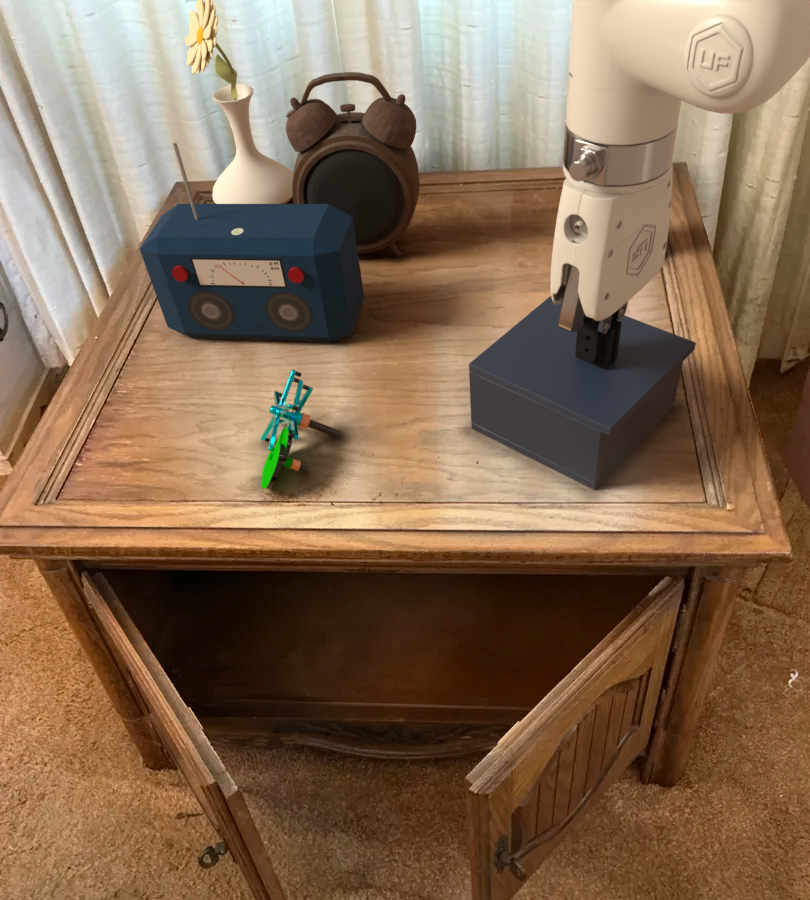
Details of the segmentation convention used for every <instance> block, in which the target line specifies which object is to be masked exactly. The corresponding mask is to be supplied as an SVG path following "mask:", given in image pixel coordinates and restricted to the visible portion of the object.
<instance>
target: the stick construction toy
mask: <svg viewBox="0 0 810 900" xmlns="http://www.w3.org/2000/svg"><path fill="white" fill-rule="evenodd" d="M297 377H298V378H297ZM301 377H302V372H301V371H300V372H299V371H297V370H295V369H291V371H290V373H289V376H288V378H287V381H286V383H285V386H284V389H283V391H282V392H279V391H277V390H275V391H274V393H273V400H274V402H273V403H274V404H272V405H270V406H269V409H268V412H269V413H268V414H271V415H272V416H271V418H270V419H269V422H268V424H267V425H266V427H265V429H264V431H263V433H262V435H261V436H260V441H263V442H266V443H268V447H267V450H268V451H269V452H268V455H267V457H266V460H265V462H264V466H263V469H262V473H261V482H260V483H261V484H260V485H261V488H262V489H263V490H266V491H270V490H271V489H272V487H273V486H274V484H275V481H276V479H277V477H278V475H279V472H280V469H281V468H283V467H285V468H287V469H291V470H293V471H296V472H297V471H302V472H304V473H307V472H308V471H309V468H310V467H309V465H308V464H305V463H302V461H301V460H298V459H295V458H292V457H290V456H289V455H290V452H291V448H292V444H293V440H296V441H298V440H299V437H300V436H299V435H300V434H299V429H302V430H307V428H309V429H312V430H315V431H316V432H320V433H323V434H326V435H328V436H331V437H334V438H336V439H338V438H339V437H340V435H341V430H340V429H338V428H335V427H332V426H330V425H327V424H324V423H322V422H319V421H317V420H314V419H311V415H310V414H307V413H305V412H301V411H302V409H303V407H304V406H305V404H306V402H308V399H309V398H310V396H311V394H312V393H313V390H314V388H313V387H311V386H309V385H306V384H304V381H303V380H302V379H299V378H301ZM293 383H296V384H297V386H296V391H295V395H294V399H293V403H292V404H291V403H287V404H286V401H287V398H288V395H289V394H290V390H291V387H292V384H293ZM302 390H304V391H305V392H304V393H303V395H302ZM301 395H302V397H301ZM290 410H291V411H290ZM279 424H280V425H286V424H287V425H286V426H285V427H283V428H282V430H281V431H280V433H279V436H278V438H277V433H278V429H279ZM269 434H270V437H268V436H269ZM276 438H277V439H276ZM275 442H276V443H275Z"/></svg>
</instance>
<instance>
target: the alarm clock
mask: <svg viewBox="0 0 810 900" xmlns="http://www.w3.org/2000/svg"><path fill="white" fill-rule="evenodd" d="M343 81H344V82H347V81H353V82H354V81H357V82H361V83H362V82H363V83H367V84H371V85H373V87H375V89H376V90H377V91H378V93H379V94H380V95H381V96H382V97H379V98H376V99H375V100H373V102H371V104H369V106H368V107H367V108H366V110H365V112H361V111H360V112H359V111H357V112H356V104H354V103H344V104H341V105H340V106H339V110H340V112H341V113H338V114H337V112H336V111H335V110H334V109H333V107H331V106H330V105H329V104H328V103H326V102H325V101H323V100H322V99H319V98H310V99H309V96H310V94H311V92H312V90H313V89H314V88H317V87H319V86H322V85H324V84H327V83H334V82H343ZM289 102H290V103H289V104H290V105H291V107H292V109H291V110H289V111H288V112H287V114H286V116H285V118H287V120H286V123H285V134H286V136H287V140H288V142H289V144H290V145H291V147H292V149H293V150H294V152H296V153H298V154H297V156H296V160H295V162H294V163H295V164H294V167H293V171H292V172H293V184H292V195H293V197H292V201H293V204H329V205H331V206H333V207H335V208H337V209H339V210H341V211H343V212H345V213H347V214H348V215H350V216H352V217H353V223H354V230H355V237H356V244H357V250H358V255H359V254H361V255H363V254H369V253H374V252H378V251H380V250H383V249H386V248H387V247H388V248H389V249H391V251H392V252H394V253H395V256H396V258H400V257H402V255H403V254H402V251H400V250H399V248H398V247H397V245H396V243H395V242H396V241H398V240H399V239H400V238H401V237H402V236H403V235H404V233H405V232H406V231H407V230H408V228H409V226H410V224H411V222H412V219H413V217H414V214H415V211H416V208H417V204H418V201H419V195H420V175H419V174H420V173H419V165H418V160H417V156H416V153H415V152H414V149H413V146H412V145H413V144H414V141H415V138H416V133H417V118H416V117H415V114H414V112H413V110H412V109H411V108H410V107H409V106H408V105H407V104H406V103H405V102H406V95H405V94H404V93H400V94H399V95H398V96H397V98H395V97H392V96H391V95H390V93H389V91H388V90H387V88H385V86H384V85H383V83H382V82H381V80H380V79H379V78H378V77H376V76H375V75H372V74H367V73H365V72H359V71H355V72H354V71H346V72H345V71H344V72H333V73H327V74H323V75H321V76H318V77H315V78H313V79H311V80H310V81H309V82H308V83H307V85H306V87H305V91H304V93H303V95H302V97H301V101H300V102H299V99H298V98H296V97H291V98H290V100H289Z"/></svg>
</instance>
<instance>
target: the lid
mask: <svg viewBox="0 0 810 900" xmlns="http://www.w3.org/2000/svg"><path fill="white" fill-rule="evenodd" d="M562 304H563V303H561V304H558V305H555V304H554V303H553V301H552V298H551V295H550V296H549V297H547V298H546V299H544V300H543V302H541V303H540V304H539V305H537V306H536V307H535V308H534V309H533V310H532V311H531V312H529V313H528V314H527V315H526V316H525V317H523V318H522V319H521V320H519V322H517V323H516V324H515V325H514V326H512V327H511V328H510V329H509V330H507V332H505V333H504V334H503V335H501V336H500V337H499V338H498V339H497V340H496V341H494V342H493V343H492V344H491V345H490V346H488V347H487V348H486V349H485V350H483V351H482V353H480V354H479V355H478V356H477V357H475V358H474V359H472V361H470V362H469V363H468V372H469V371H470V372H473V373H475V374H477V375H479V376H481V377H483V378H486V379H488V380H490V381H492V382H494V383H496V384H498V385H501V386H503V387H505V388H507V389H509V390H511V391H514V392H516V393H518V394H520V395H522V396H524V397H527V398H529V399H531V400H533V401H535V402H537V403H539V404H542V405H544V406H546V407H548V408H550V409H552V410H555V411H557V412H559V413H561V414H563V415H565V416H568V417H570V418H572V419H574V420H576V421H578V422H580V423H583V424H585V425H587V426H589V427H591V428H593V429H596V430H598V431H600V432H602V433H604V434H606V435H609V436H610V435H611V434H612V433H613V432H614V431H615V430H616V429H617V428H618V427H619V426H620V425H621V424H622V423H623V422H624V421H625V420H626V419H627V418H628V417H629V416H630V415H631V414H632V413H633V412H634V411H635V410H636V409H637V408H638V407H639V406H640V405H641V404H642V403H643V402H644V401H645V400H646V399H647V397H648V396H649V395H650V394H651V393H652V392H653V391H654V390H655V389H656V388H657V387H658V386H659V385H660V384H661V383H662V382H663V381H664V380H665V379H666V378H667V377H668V376H669V375H670V374H671V373H672V372H673V371H674V370H675V369H676V368H677V367H678V366H679V365H680V364H681V363H682V362H683V363H684V361H685V360H686V359H688V357H689V356H690V355H691V354H692V353H693V352H694V351H695V350H696V345H697V342H696V341H693V340H691V339H688V338H685V337H682V336H680V335H677V334H675V333H672V332H670V331H667V330H664V329H661V328H660V327H656V326H653V325H651V324H648V323H646V322H643V321H640V320H638V319H635V318H633V317H630V316H627V315H626V314H625V315H624V317H623V318H622V319H621V320H619V319H617V321H620V322H622V324H621V332H620V339H619V347H618V355H617V359H616V360H615V361H614V362H613V363H610V366H609V367H608V368H606V369H602V368H599V367H597V366H595V365H592V364H590V363H588V362H585V361H583V360H580V359H578V358H577V357H576V355H575V350H576V338H577V331H575V332H570V331H567V330H565V329H562V328H560V327H559V325H558V324H559V319H560V314H561V309H562Z"/></svg>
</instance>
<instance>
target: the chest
mask: <svg viewBox="0 0 810 900" xmlns="http://www.w3.org/2000/svg"><path fill="white" fill-rule="evenodd" d="M683 364H684V361H683V362H682V363H681V364H680V365H679V366H678V367H677V368H676V369H675V370H674V371H673V372H672V373H671V374H670V375H669V376H668V377H667V378H666V379H665V380H664V381H663V382H662V383H661V384H660V385H659V386H658V387H657V388H656V389H655V390H654V391H653V392H652V393H651V394H650V395H649V396H648V397H647V399H646V400H645V401H644V402H643V403H642V404H641V405H640V406H639V407H638V408H637V409H636V410H635V411H634V412H633V413H632V414H631V415H630V416H629V417H628V418H627V419H626V420H625V421H624V422H623V423H622V424H621V425H620V426H619V427H618V428H617V429H616V430H615V431H614V432H613V433H612V434H611V435H610V436H609V435H606V434H604V433H602V432H600V431H598V430H596V429H593V428H591V427H589V426H587V425H585V424H583V423H580V422H578V421H576V420H574V419H572V418H570V417H568V416H565V415H563V414H561V413H559V412H557V411H555V410H552V409H550V408H548V407H546V406H544V405H542V404H539V403H537V402H535V401H533V400H531V399H529V398H527V397H524V396H522V395H520V394H518V393H516V392H514V391H511V390H509V389H507V388H505V387H503V386H501V385H498V384H496V383H494V382H492V381H490V380H488V379H486V378H483V377H481V376H479V375H477V374H475V373H473V372H470V371H469V370H468V377H469V378H468V379H469V398H470V399H469V400H470V422H471V424H470V425H471V430H473V431H476V432H477V433H479V434H482V435H484V436H486V437H488V438H490V439H492V440H494V441H496V442H497V443H500V444H502V445H504V446H505V447H508V448H509V449H512V450H514V451H515V452H517V453H519V454H522V455H524V456H526V457H528V458H529V459H531V460H534V461H535V462H538V463H540V464H542V465H543V466H546V467H547V468H549V469H552V470H553V471H555V472H557V473H560V474H562V475H564V476H565V477H567V478H570V479H572V480H573V481H576V482H578V483H579V484H581V485H584V486H586V487H588V488H589V489H591V490H596V489H597V488H598V487H599V486H600V485H601V483H603V481H604V480H605V479H606V478H607V477H608V476H609V475H610V474H611V473H612V472H613V471H614V470H615V469H616V468H617V467H618V466H619V465H620V464H621V463H622V461H624V459H625V458H626V457H628V455H629V454H630V453H631V452H632V451H633V450H634V449H635V448H636V447H637V446H638V445H639V444H640V443H641V442H642V440H643V439H645V437H646V436H647V435H649V433H650V432H651V431H652V430H653V429H654V428H655V427H656V426H657V425H658V424H659V423H660V422H661V421H662V420H663V419H664V417H665V416H666V415H667V414H668V413H669V412H670V411H671V410H672V409H673V408H674V407H675V405H676V400H677V395H678V391H679V390H678V389H679V385H680V379H681V374H682V370H683Z"/></svg>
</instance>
